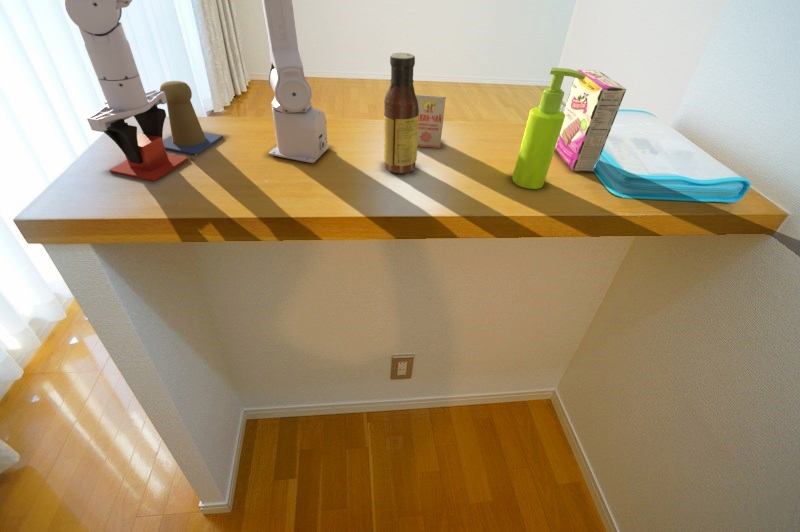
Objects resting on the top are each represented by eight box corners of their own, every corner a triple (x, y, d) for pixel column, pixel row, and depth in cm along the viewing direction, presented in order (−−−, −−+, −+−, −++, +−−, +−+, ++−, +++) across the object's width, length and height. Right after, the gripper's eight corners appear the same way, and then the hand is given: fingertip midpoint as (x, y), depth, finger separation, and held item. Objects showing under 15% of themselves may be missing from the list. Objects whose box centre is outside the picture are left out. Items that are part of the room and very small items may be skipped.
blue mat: (223, 137, 85) (222, 135, 85) (195, 155, 79) (194, 153, 78) (185, 130, 87) (184, 128, 87) (154, 147, 80) (154, 145, 80)
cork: (194, 148, 80) (178, 89, 73) (166, 144, 81) (147, 85, 73) (211, 136, 85) (197, 79, 77) (184, 132, 85) (168, 75, 78)
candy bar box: (550, 148, 91) (575, 68, 81) (572, 148, 92) (599, 69, 81) (571, 172, 83) (602, 87, 72) (595, 172, 83) (629, 88, 73)
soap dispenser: (547, 193, 76) (586, 77, 63) (510, 184, 77) (540, 70, 64) (550, 179, 80) (586, 68, 67) (514, 171, 82) (543, 62, 69)
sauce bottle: (420, 165, 81) (431, 54, 68) (407, 178, 77) (416, 63, 64) (390, 157, 83) (395, 48, 70) (376, 169, 79) (378, 56, 66)
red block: (169, 160, 76) (161, 136, 73) (151, 171, 72) (142, 146, 69) (147, 156, 76) (139, 132, 73) (129, 166, 73) (119, 142, 70)
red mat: (188, 159, 77) (188, 157, 77) (154, 181, 70) (153, 179, 70) (147, 151, 79) (146, 149, 78) (109, 172, 72) (109, 169, 72)
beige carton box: (408, 138, 91) (412, 91, 84) (439, 140, 91) (445, 94, 84) (408, 145, 88) (411, 97, 81) (439, 148, 88) (445, 100, 81)
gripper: (131, 60, 71) (156, 137, 80) (56, 84, 60) (94, 169, 69) (167, 66, 70) (188, 143, 78) (96, 91, 59) (130, 177, 68)
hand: (147, 156), depth 73 cm, fingers closed on red block, 4 cm apart
